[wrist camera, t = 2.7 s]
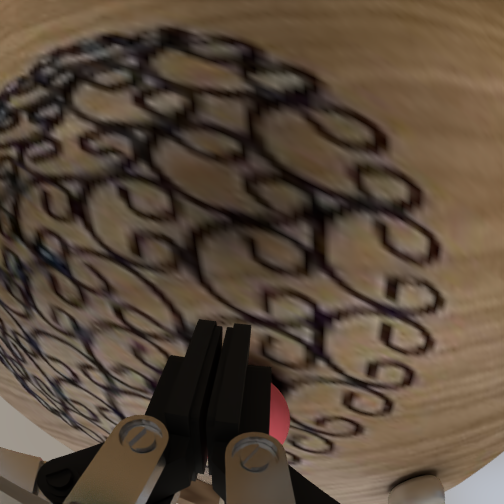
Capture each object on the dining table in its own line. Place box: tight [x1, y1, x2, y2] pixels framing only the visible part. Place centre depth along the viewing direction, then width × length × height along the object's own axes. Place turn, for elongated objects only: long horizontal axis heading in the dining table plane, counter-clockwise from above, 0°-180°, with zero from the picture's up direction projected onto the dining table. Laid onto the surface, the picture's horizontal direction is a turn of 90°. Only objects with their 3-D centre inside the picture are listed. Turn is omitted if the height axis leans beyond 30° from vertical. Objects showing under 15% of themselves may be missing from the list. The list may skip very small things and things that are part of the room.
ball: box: [269, 383, 290, 444], centre depth 17 cm, size 6×6×6 cm
